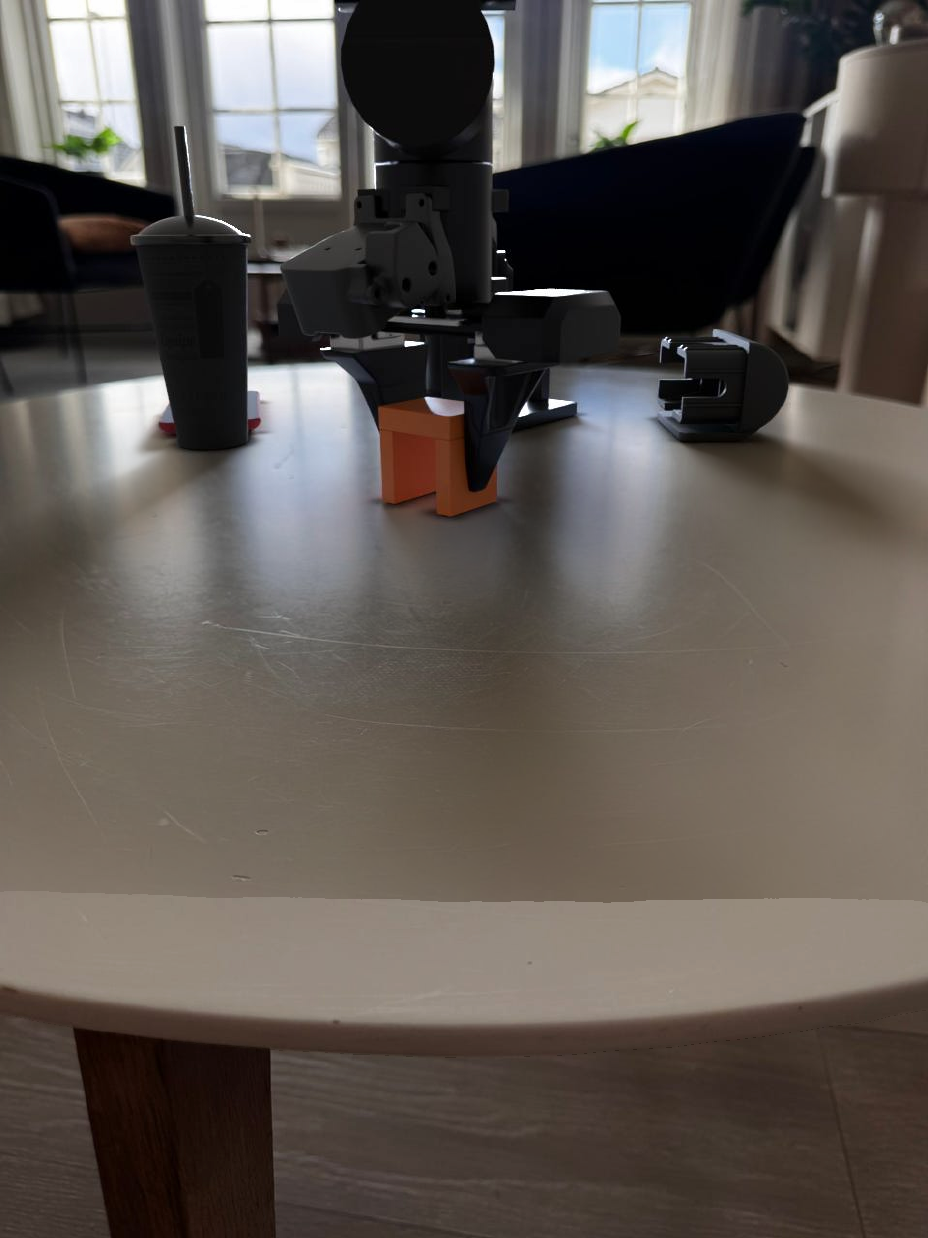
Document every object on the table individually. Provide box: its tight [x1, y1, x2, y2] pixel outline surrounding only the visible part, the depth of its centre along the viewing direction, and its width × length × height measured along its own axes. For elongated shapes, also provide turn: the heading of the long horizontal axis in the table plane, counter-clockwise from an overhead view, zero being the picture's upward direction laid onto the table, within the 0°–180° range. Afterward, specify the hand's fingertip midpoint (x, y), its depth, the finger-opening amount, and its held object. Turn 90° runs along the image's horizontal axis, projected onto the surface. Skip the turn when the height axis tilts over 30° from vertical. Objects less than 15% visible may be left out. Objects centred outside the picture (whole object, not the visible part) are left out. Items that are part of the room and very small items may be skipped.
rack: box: [441, 337, 578, 432], centre depth 71 cm, size 7×12×8 cm, turn 141°
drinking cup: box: [129, 125, 252, 451], centre depth 62 cm, size 8×8×20 cm
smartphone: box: [158, 390, 262, 435], centre depth 75 cm, size 7×1×15 cm
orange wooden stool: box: [378, 397, 498, 518], centre depth 50 cm, size 5×4×5 cm
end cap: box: [656, 328, 790, 443], centre depth 68 cm, size 10×7×7 cm
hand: (439, 483), depth 51 cm, fingers closed on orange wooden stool, 5 cm apart
